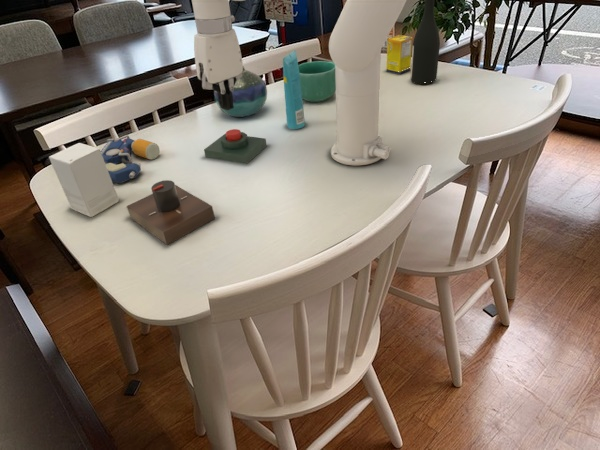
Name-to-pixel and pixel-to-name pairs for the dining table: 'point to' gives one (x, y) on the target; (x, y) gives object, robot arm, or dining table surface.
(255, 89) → the vase
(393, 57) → the supplement box
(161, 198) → the dial
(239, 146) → the button block
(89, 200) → the white packaging box
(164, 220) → the panel
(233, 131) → the button
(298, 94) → the tube
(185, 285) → the dining table surface
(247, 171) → the dining table surface
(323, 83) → the mug
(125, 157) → the spray gun
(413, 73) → the wine bottle
